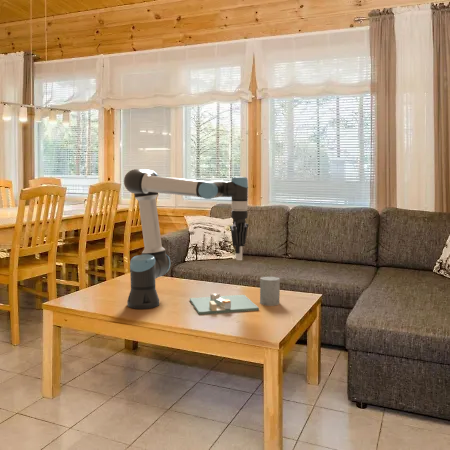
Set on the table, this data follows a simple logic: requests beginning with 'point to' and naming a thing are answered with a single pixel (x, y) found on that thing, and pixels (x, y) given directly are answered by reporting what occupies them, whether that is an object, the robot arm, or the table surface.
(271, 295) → the speckled grey cylinder
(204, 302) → the board
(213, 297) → the bar
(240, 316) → the table surface
